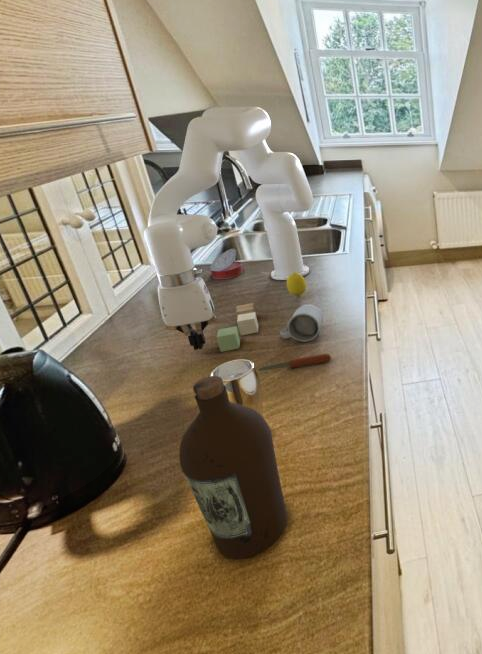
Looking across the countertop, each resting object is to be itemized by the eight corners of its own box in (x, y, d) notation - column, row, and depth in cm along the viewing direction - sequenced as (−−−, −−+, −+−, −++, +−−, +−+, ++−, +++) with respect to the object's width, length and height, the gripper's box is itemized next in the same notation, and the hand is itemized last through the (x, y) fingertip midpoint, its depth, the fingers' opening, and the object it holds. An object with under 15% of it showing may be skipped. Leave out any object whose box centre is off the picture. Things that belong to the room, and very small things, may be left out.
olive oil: (241, 494, 70) (198, 356, 60) (305, 502, 69) (271, 361, 59) (193, 559, 61) (133, 407, 51) (266, 569, 59) (218, 414, 49)
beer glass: (225, 440, 82) (203, 370, 76) (263, 421, 86) (245, 353, 80) (239, 460, 77) (217, 387, 71) (279, 439, 81) (261, 368, 75)
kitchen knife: (331, 359, 106) (329, 351, 105) (331, 362, 105) (330, 354, 104) (259, 372, 102) (257, 364, 101) (258, 375, 101) (256, 368, 100)
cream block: (241, 328, 122) (238, 314, 120) (258, 325, 123) (255, 311, 121) (240, 335, 118) (236, 321, 116) (257, 332, 119) (254, 318, 118)
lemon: (310, 293, 142) (306, 269, 139) (303, 300, 137) (298, 276, 134) (294, 292, 143) (289, 269, 140) (286, 300, 138) (280, 276, 134)
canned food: (242, 287, 161) (237, 268, 154) (211, 288, 158) (204, 268, 151) (245, 263, 168) (240, 244, 160) (215, 264, 165) (209, 244, 158)
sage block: (222, 344, 114) (218, 329, 113) (240, 340, 116) (236, 326, 114) (220, 352, 111) (216, 337, 109) (239, 348, 112) (235, 333, 110)
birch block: (240, 319, 127) (236, 305, 125) (256, 316, 128) (253, 302, 127) (239, 325, 123) (236, 311, 122) (256, 322, 125) (253, 308, 123)
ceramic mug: (325, 325, 121) (320, 299, 118) (321, 340, 114) (316, 313, 111) (285, 330, 120) (278, 303, 117) (278, 345, 113) (271, 318, 110)
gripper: (216, 267, 109) (234, 334, 116) (144, 276, 104) (168, 346, 111) (212, 277, 102) (231, 347, 109) (135, 288, 98) (160, 361, 105)
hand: (199, 346), depth 110 cm, fingers closed
